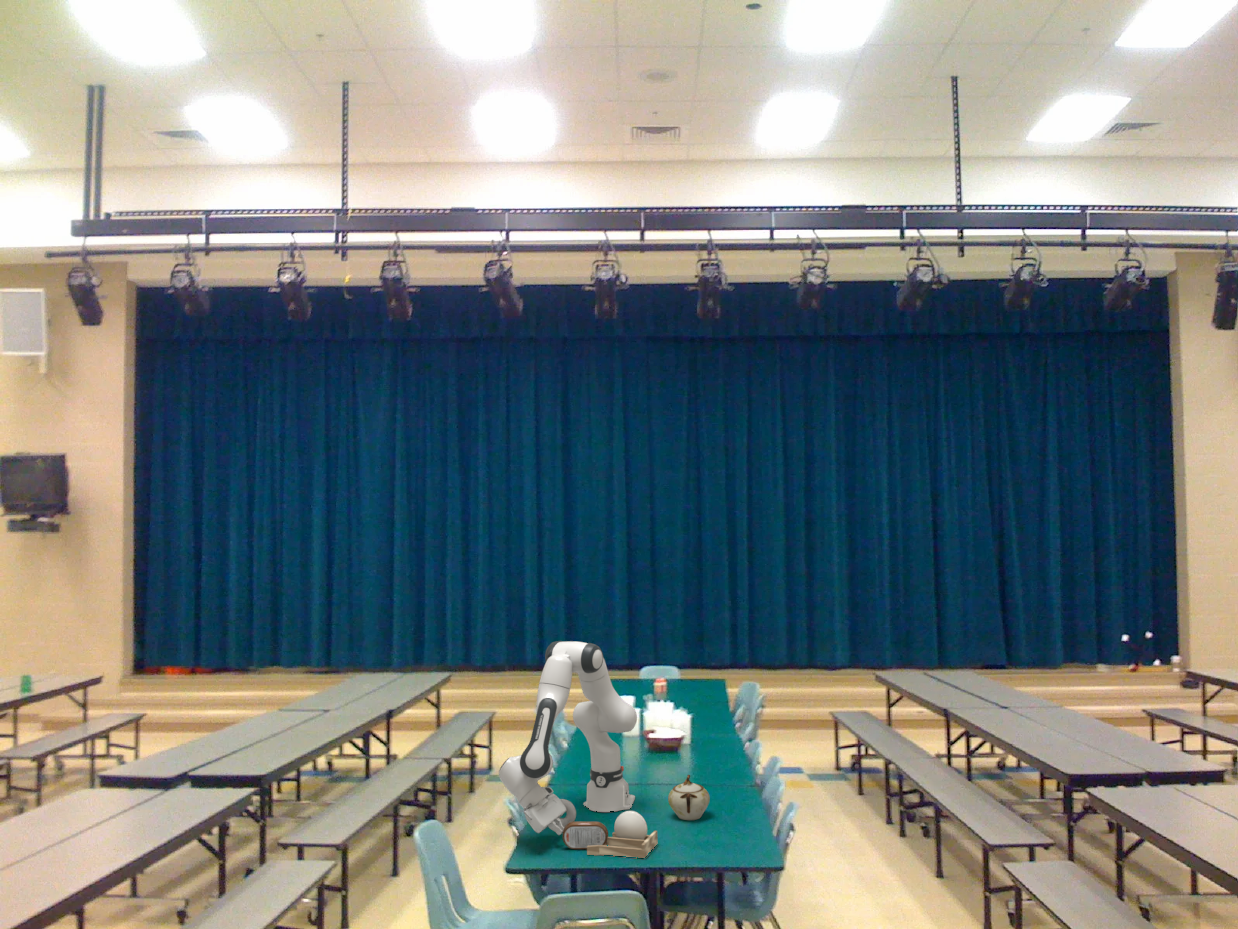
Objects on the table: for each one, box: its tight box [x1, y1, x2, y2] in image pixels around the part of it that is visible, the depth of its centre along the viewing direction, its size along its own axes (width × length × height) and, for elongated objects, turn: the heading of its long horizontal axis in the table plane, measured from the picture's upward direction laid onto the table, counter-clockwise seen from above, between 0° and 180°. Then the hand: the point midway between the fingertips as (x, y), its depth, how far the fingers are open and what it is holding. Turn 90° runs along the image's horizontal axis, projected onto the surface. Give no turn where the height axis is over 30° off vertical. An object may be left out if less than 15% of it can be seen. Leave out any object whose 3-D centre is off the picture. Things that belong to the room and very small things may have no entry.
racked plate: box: [613, 810, 648, 840], centre depth 314 cm, size 2×11×11 cm, turn 71°
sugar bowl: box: [667, 774, 711, 821], centre depth 343 cm, size 20×15×15 cm
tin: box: [562, 821, 609, 850], centre depth 312 cm, size 15×3×8 cm, turn 88°
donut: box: [559, 798, 577, 828], centre depth 334 cm, size 10×4×10 cm, turn 83°
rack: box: [586, 830, 659, 859], centre depth 310 cm, size 16×19×4 cm
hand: (562, 832), depth 315 cm, fingers closed
